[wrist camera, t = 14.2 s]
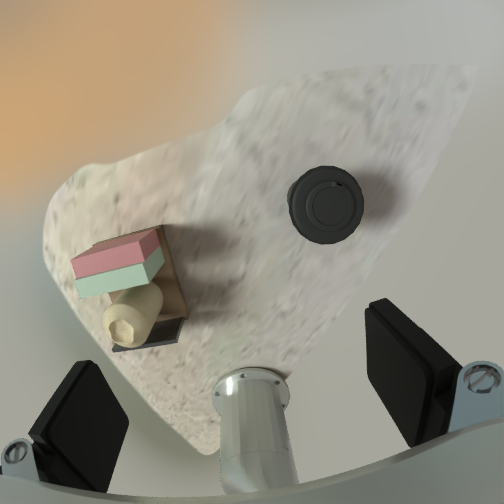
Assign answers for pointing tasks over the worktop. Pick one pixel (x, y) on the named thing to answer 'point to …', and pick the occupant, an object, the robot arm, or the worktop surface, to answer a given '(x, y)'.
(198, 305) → the worktop surface
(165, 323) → the bookend
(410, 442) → the robot arm
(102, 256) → the books
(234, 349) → the worktop surface
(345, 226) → the coffee cup
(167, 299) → the brown wooden board
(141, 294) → the candle
